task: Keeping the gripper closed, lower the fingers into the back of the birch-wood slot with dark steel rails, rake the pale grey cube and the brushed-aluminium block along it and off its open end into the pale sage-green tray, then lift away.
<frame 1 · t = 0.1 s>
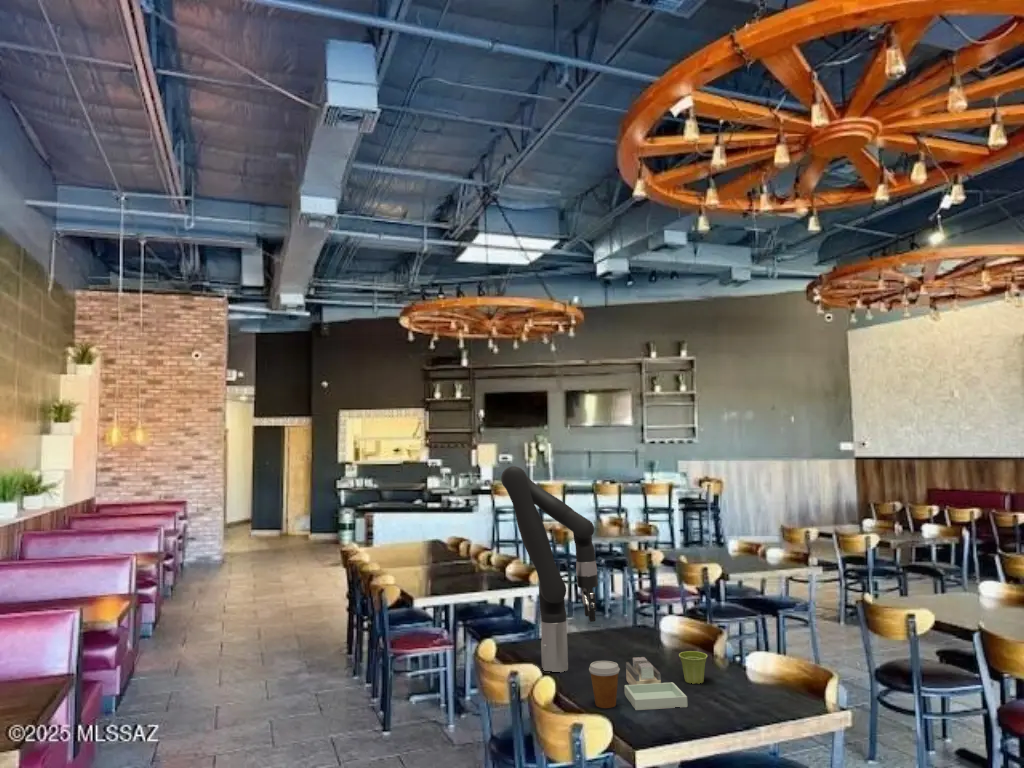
hand: (590, 618, 263), 17 cm above the table, tool pointing down, fingers open, 8 cm apart
tray: (655, 700, 225), on the table
pale grey cube: (646, 677, 235), point 4 cm above the table, touching slot board
disposable coffee cup: (605, 705, 223), on the table
plant pot: (694, 682, 242), on the table
slot board: (643, 686, 239), on the table
chip back: (640, 671, 242), point 4 cm above the table, touching slot board
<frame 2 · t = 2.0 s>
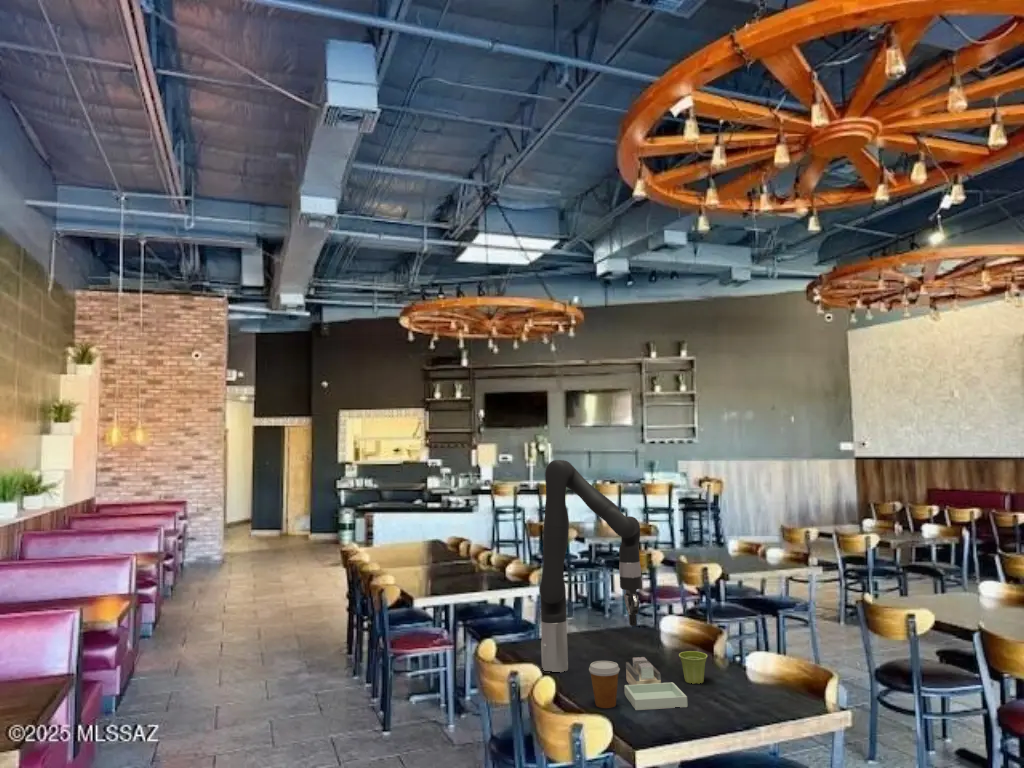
hand: (632, 625, 251), 17 cm above the table, tool pointing down, fingers closed
nothing on the table moved.
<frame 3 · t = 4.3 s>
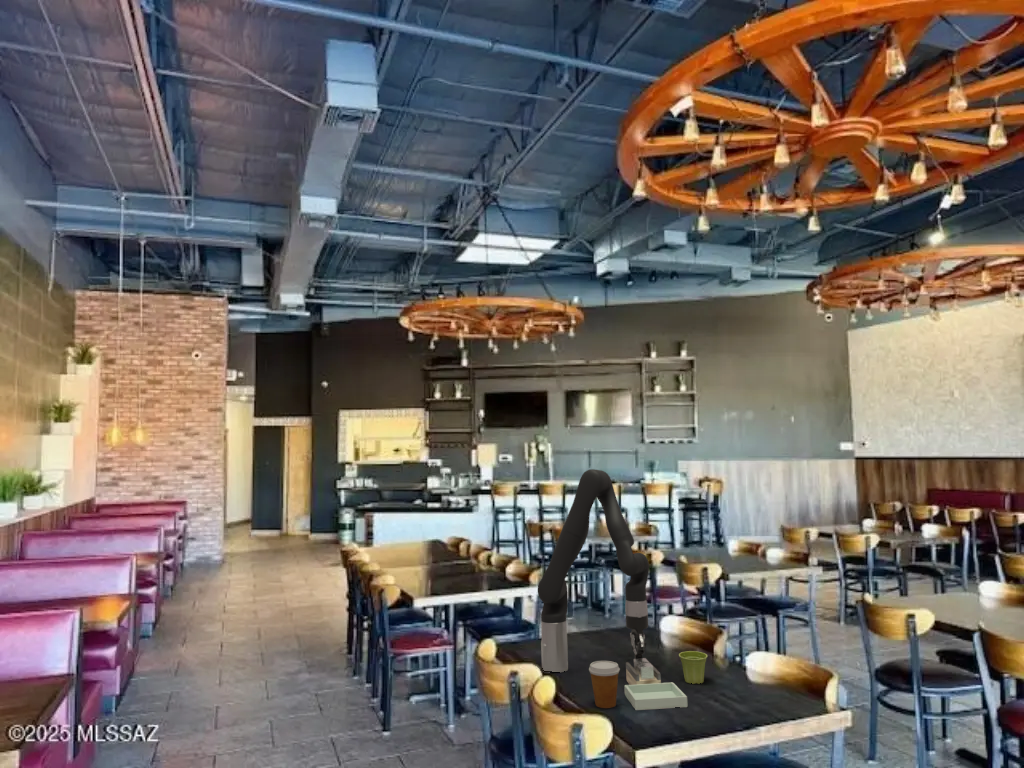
hand: (638, 665, 245), 5 cm above the table, tool pointing down, fingers closed
chip back: (641, 672, 241), point 4 cm above the table, touching gripper
everything else where it was.
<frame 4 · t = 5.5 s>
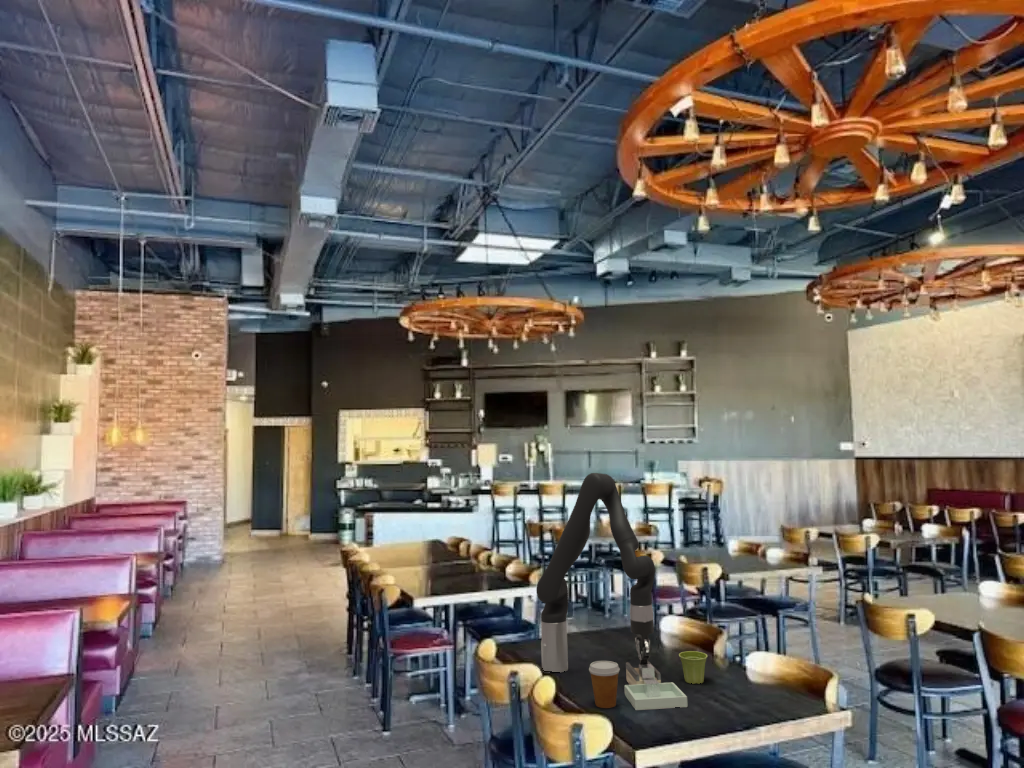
hand: (643, 671, 238), 5 cm above the table, tool pointing down, fingers closed
pale grey cube: (649, 686, 231), point 3 cm above the table, tilted 90°, touching tray
chip back: (647, 678, 234), point 4 cm above the table, touching gripper, slot board
everything else where it was.
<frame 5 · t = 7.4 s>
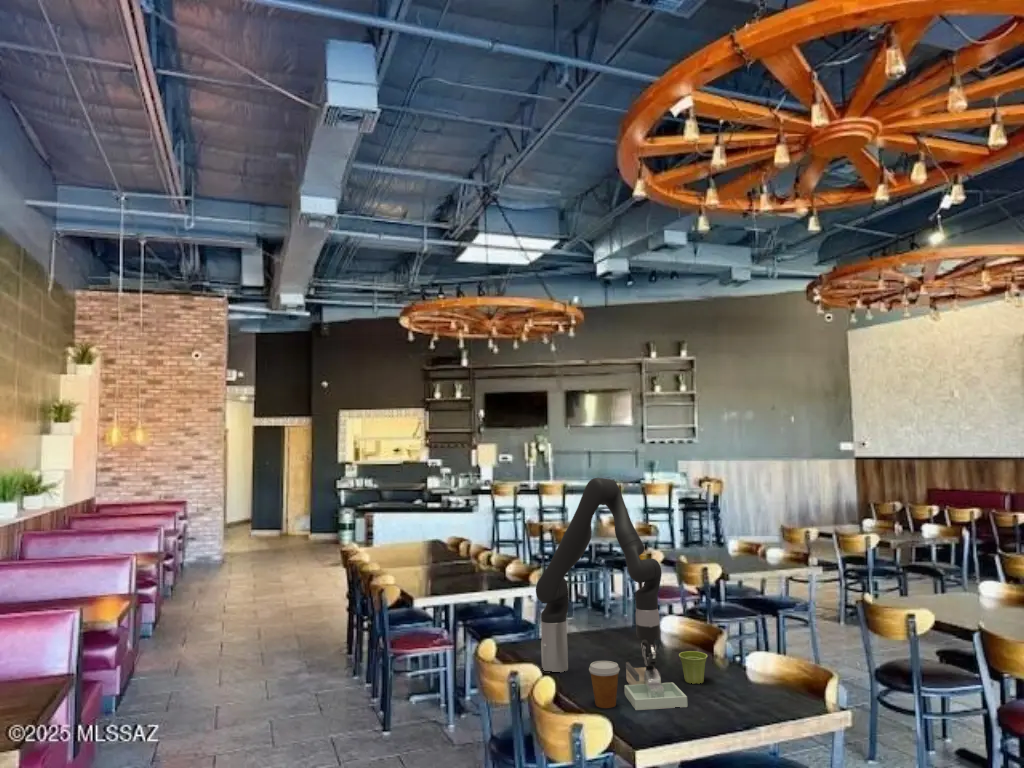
hand: (650, 677, 231), 5 cm above the table, tool pointing down, fingers closed
pale grey cube: (654, 691, 226), point 3 cm above the table, tilted 90°, touching tray
chip back: (651, 684, 228), point 4 cm above the table, tilted 26°, touching gripper
everything else where it was.
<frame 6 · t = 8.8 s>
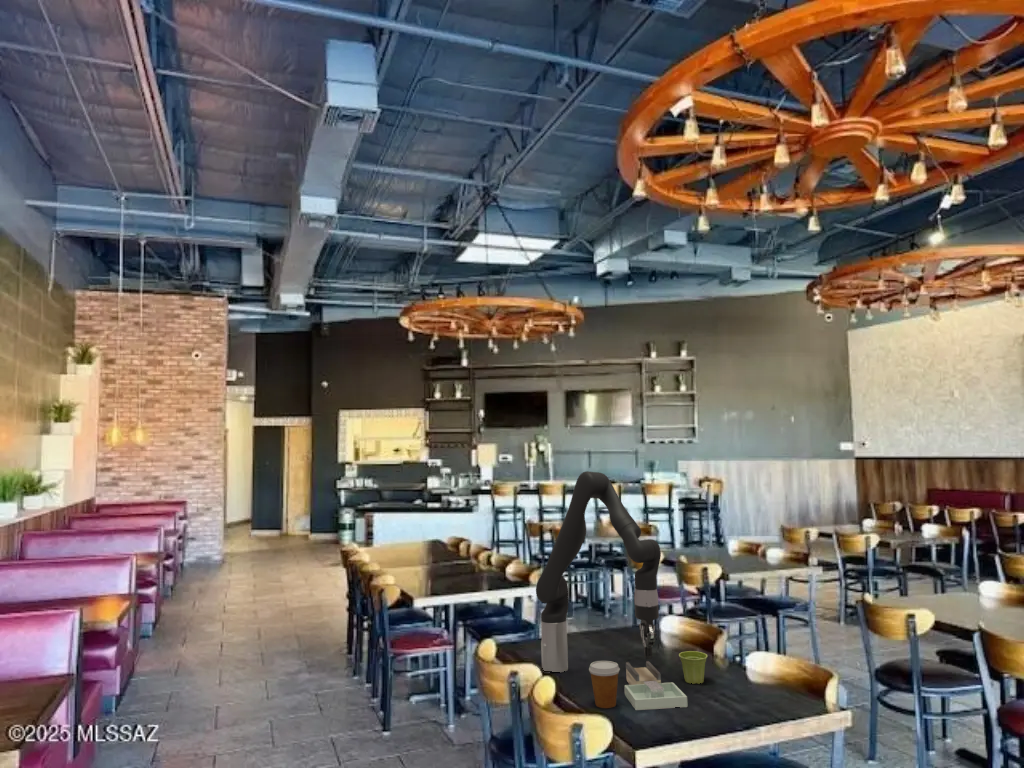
hand: (648, 658, 231), 12 cm above the table, tool pointing down, fingers closed
chip back: (652, 696, 227), point 1 cm above the table, touching tray
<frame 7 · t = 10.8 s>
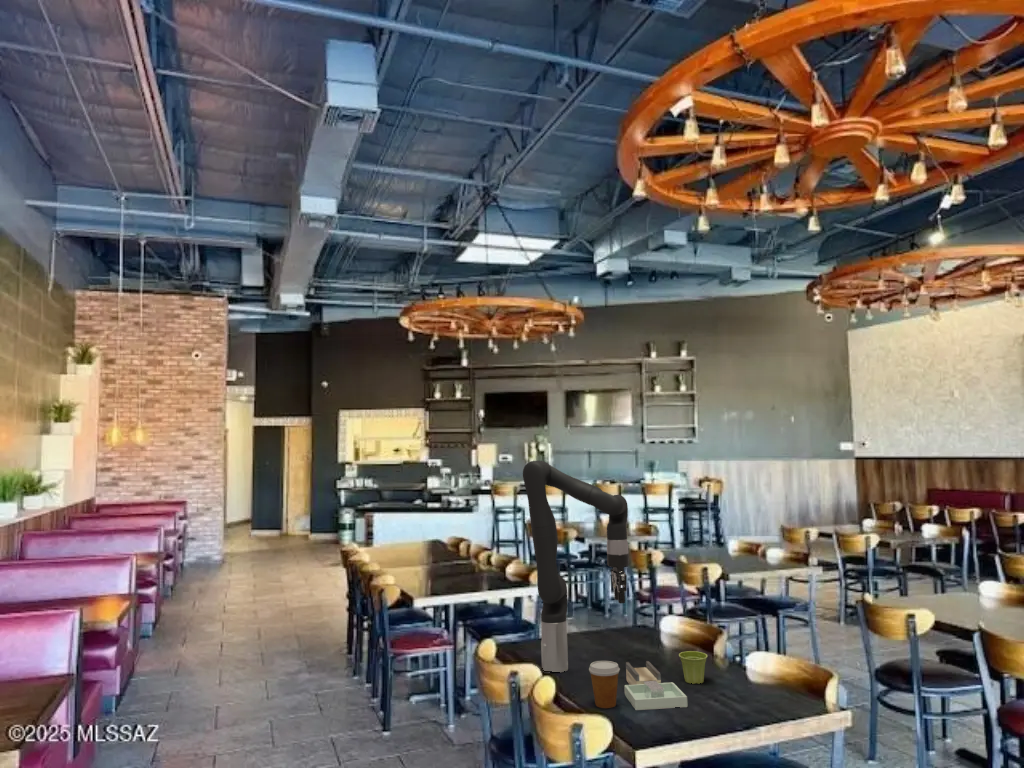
hand: (619, 601, 253), 25 cm above the table, tool pointing down, fingers open, 5 cm apart
nothing on the table moved.
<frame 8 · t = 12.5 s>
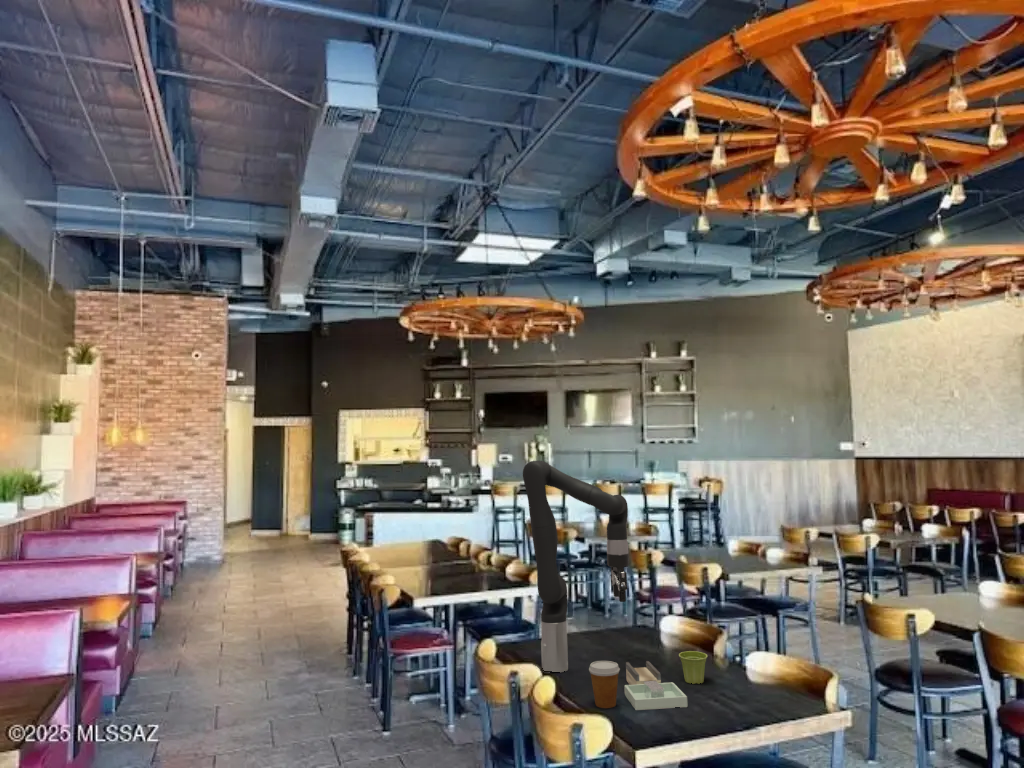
hand: (619, 599, 253), 26 cm above the table, tool pointing down, fingers open, 8 cm apart
nothing on the table moved.
at the end: pale grey cube inside the target area (0.5 cm from its centre), point 2.6 cm above the table; chip back inside the target area (2.5 cm from its centre), point 0.6 cm above the table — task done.
